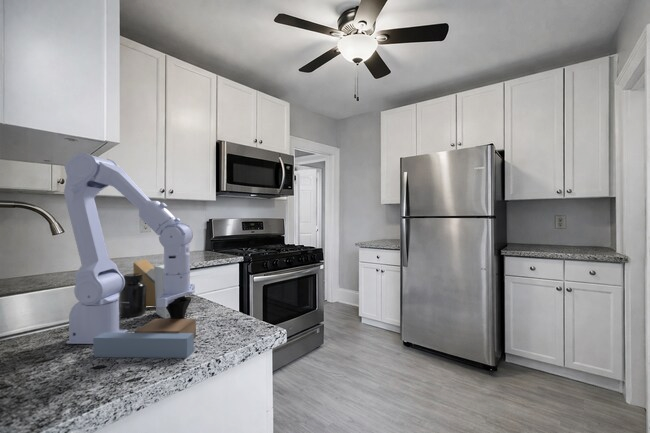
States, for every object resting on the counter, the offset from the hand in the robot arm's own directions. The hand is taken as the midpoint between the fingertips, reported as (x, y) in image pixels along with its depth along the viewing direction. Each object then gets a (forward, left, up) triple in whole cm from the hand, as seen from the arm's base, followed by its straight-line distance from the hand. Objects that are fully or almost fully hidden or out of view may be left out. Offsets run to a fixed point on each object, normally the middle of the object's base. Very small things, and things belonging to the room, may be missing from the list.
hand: (177, 328), depth 76 cm
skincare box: (-11, +16, -2) cm, 20 cm away
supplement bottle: (-22, +16, -2) cm, 28 cm away
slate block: (-2, -10, -2) cm, 10 cm away
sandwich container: (-19, +28, -2) cm, 34 cm away
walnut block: (0, -5, -2) cm, 5 cm away
